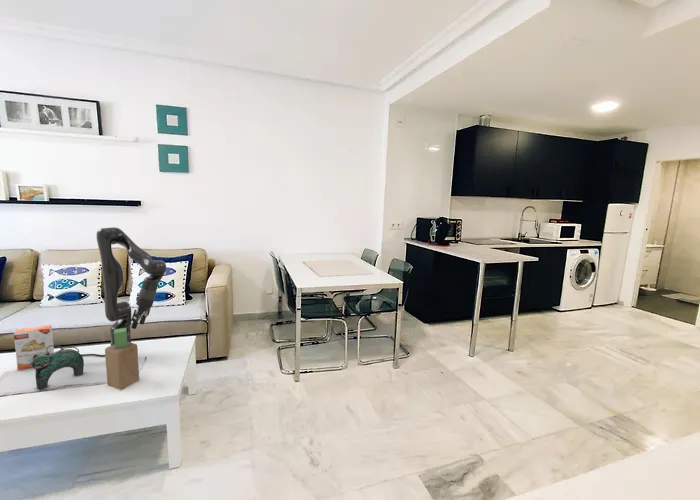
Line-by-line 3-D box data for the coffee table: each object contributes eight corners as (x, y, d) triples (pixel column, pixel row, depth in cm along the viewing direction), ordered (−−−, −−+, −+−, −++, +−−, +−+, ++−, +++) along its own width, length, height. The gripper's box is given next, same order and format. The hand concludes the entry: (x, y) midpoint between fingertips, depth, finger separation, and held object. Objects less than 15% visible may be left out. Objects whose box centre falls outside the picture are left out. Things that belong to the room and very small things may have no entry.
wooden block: (140, 380, 169) (138, 343, 166) (121, 390, 159) (118, 352, 156) (126, 375, 172) (123, 339, 169) (106, 385, 163) (103, 348, 159)
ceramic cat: (35, 392, 155) (31, 353, 151) (30, 388, 158) (26, 349, 155) (86, 374, 171) (83, 338, 168) (80, 370, 175) (77, 335, 171)
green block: (115, 344, 163) (114, 329, 162) (127, 342, 166) (126, 327, 165) (115, 348, 159) (113, 333, 158) (127, 346, 162) (126, 331, 161)
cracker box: (17, 371, 171) (12, 333, 168) (20, 365, 176) (16, 328, 173) (53, 364, 179) (49, 328, 176) (55, 359, 184) (51, 324, 181)
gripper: (145, 292, 180) (136, 320, 180) (132, 297, 166) (123, 328, 166) (159, 296, 181) (150, 324, 181) (147, 301, 167) (138, 331, 167)
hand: (137, 326), depth 174 cm, fingers open, 8 cm apart
